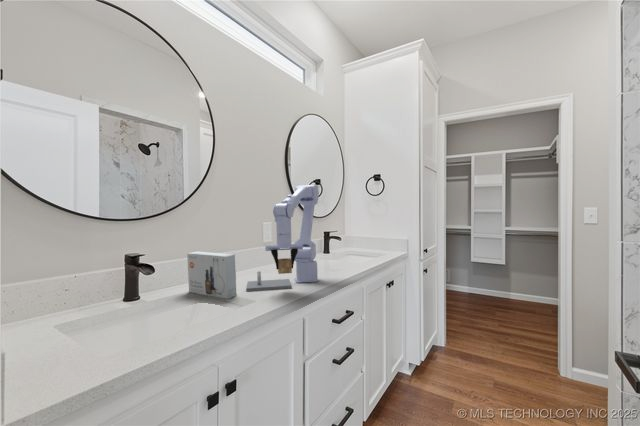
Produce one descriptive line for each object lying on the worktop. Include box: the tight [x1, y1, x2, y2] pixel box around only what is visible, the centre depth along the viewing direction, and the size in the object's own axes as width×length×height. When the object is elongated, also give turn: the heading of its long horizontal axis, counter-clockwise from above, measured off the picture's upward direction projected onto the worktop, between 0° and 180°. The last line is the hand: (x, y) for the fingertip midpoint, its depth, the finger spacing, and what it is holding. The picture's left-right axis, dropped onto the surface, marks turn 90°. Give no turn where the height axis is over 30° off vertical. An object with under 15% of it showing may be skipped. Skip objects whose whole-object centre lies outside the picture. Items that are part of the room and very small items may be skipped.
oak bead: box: [277, 257, 293, 275], centre depth 114 cm, size 5×5×5 cm
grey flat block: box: [245, 270, 293, 293], centre depth 123 cm, size 18×12×7 cm, turn 101°
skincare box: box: [186, 251, 238, 300], centre depth 113 cm, size 21×5×16 cm, turn 62°
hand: (284, 268), depth 114 cm, fingers closed on oak bead, 5 cm apart
